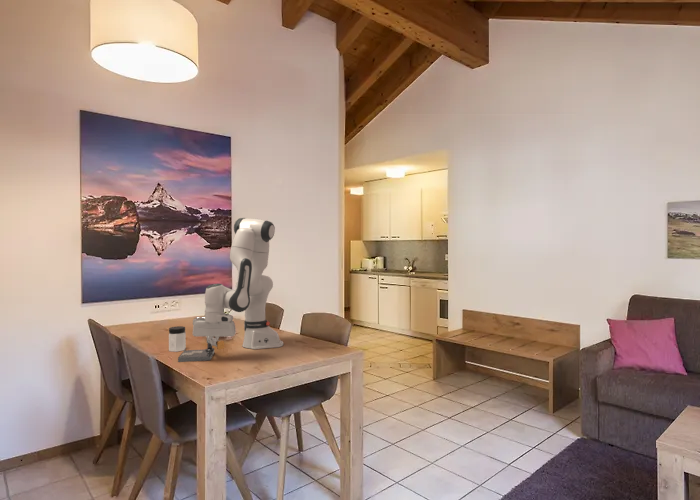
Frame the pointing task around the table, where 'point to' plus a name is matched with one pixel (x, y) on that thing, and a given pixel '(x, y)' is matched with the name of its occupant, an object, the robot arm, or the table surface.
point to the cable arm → (219, 343)
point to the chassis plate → (197, 354)
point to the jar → (177, 339)
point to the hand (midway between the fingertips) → (214, 345)
